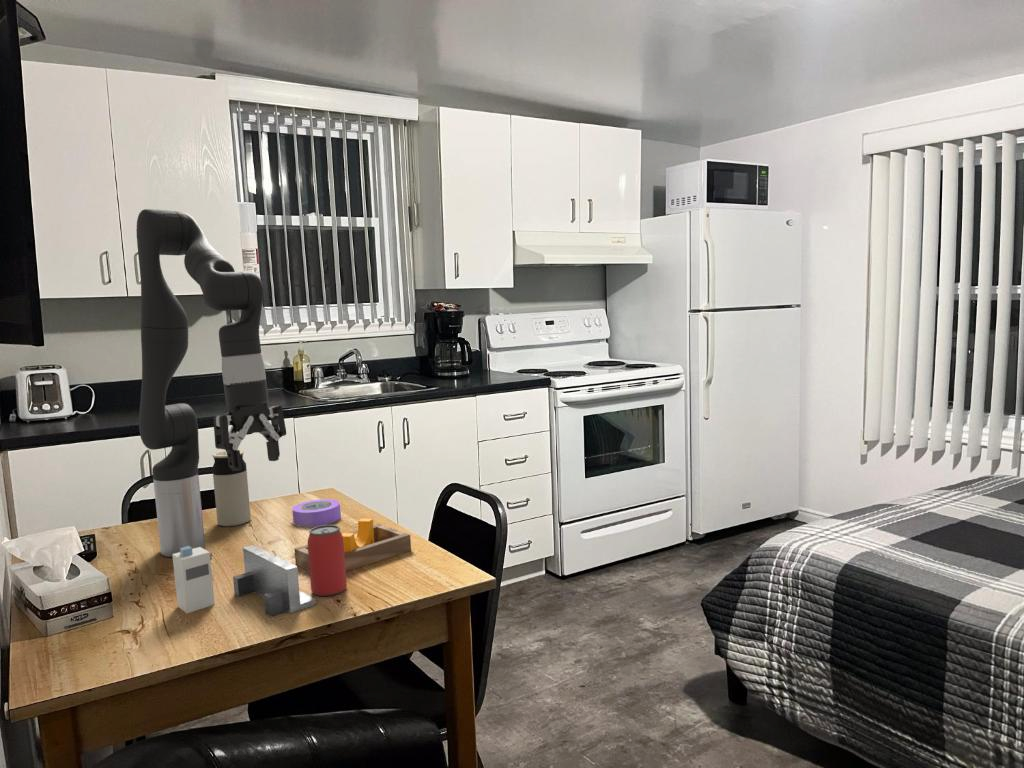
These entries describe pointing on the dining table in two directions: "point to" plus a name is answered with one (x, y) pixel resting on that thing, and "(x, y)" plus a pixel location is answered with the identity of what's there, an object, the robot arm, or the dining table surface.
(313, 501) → the masking tape
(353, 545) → the pipe clamp
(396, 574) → the dining table surface
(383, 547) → the parts corral
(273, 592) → the rail
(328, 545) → the beer can
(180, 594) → the white rectangular block
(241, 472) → the travel mug
